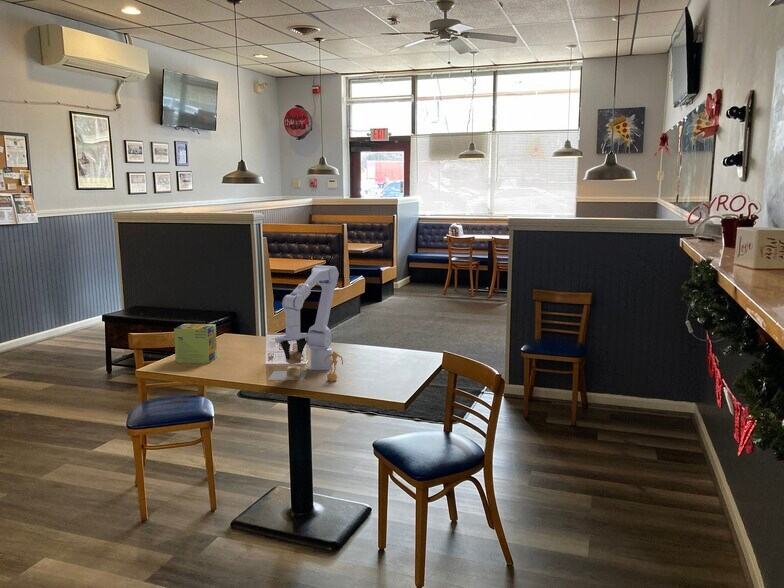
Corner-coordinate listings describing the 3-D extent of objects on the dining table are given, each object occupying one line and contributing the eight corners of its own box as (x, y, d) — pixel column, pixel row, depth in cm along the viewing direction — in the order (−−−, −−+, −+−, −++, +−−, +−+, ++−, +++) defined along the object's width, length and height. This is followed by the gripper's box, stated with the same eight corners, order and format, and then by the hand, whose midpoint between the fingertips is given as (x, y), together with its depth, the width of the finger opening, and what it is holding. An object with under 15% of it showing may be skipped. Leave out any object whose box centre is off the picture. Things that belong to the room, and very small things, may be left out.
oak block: (301, 375, 249) (301, 366, 248) (299, 379, 244) (299, 369, 243) (288, 375, 249) (288, 366, 248) (286, 379, 244) (286, 369, 243)
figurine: (320, 381, 243) (320, 352, 241) (327, 377, 248) (327, 349, 246) (339, 384, 240) (339, 354, 238) (346, 380, 245) (345, 351, 244)
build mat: (307, 372, 255) (307, 371, 255) (302, 381, 243) (302, 380, 243) (273, 372, 255) (273, 371, 255) (267, 381, 243) (267, 379, 243)
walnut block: (296, 360, 248) (296, 350, 248) (301, 362, 245) (300, 352, 244) (286, 361, 246) (285, 351, 245) (290, 364, 242) (290, 354, 242)
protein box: (209, 363, 268) (208, 329, 265) (175, 363, 269) (173, 328, 266) (217, 357, 278) (216, 324, 276) (184, 356, 279) (183, 323, 276)
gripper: (305, 321, 250) (306, 353, 252) (271, 325, 242) (272, 358, 244) (312, 324, 244) (313, 357, 246) (278, 328, 236) (279, 362, 238)
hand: (293, 358), depth 245 cm, fingers closed on walnut block, 4 cm apart
